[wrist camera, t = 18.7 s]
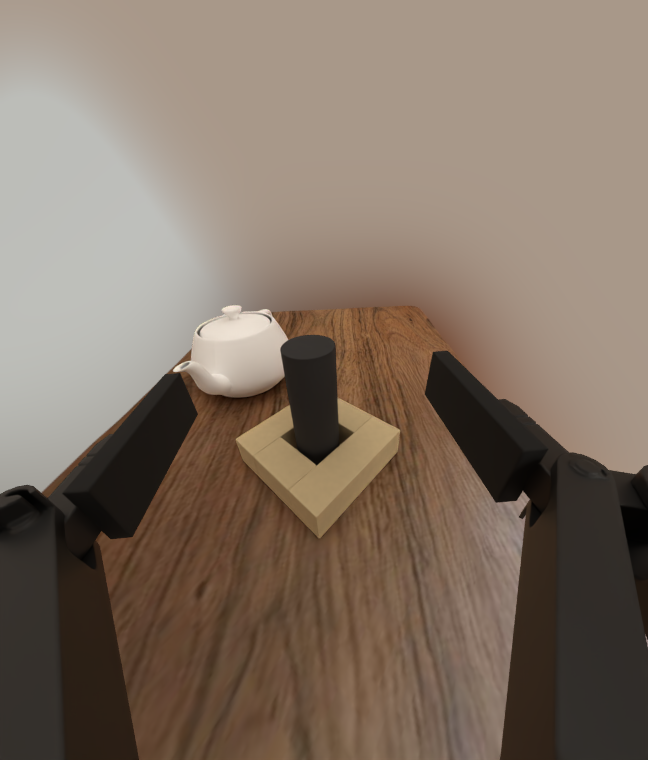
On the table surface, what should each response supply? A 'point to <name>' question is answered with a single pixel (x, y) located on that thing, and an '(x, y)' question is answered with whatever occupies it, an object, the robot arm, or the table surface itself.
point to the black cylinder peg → (312, 394)
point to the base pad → (332, 475)
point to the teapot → (236, 353)
